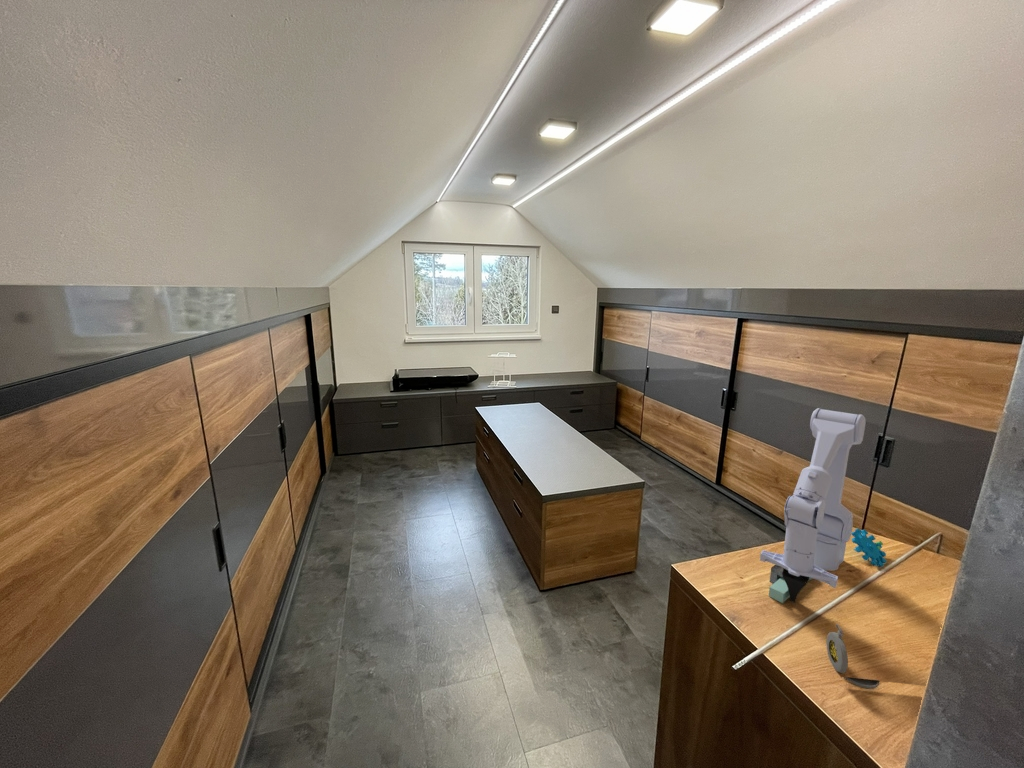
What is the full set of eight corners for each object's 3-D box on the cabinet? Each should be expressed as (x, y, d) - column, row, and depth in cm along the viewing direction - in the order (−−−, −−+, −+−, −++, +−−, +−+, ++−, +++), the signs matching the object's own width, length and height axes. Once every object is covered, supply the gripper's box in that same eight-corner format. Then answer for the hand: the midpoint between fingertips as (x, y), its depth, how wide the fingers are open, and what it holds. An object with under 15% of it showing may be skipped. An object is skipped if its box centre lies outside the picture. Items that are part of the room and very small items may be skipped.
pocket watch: (888, 684, 75) (896, 639, 73) (855, 698, 73) (863, 651, 71) (841, 649, 83) (848, 607, 81) (811, 661, 81) (816, 617, 79)
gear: (873, 568, 105) (849, 529, 110) (851, 573, 109) (829, 535, 115) (898, 563, 109) (873, 526, 114) (876, 568, 113) (854, 532, 119)
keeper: (777, 580, 104) (779, 561, 103) (794, 589, 100) (796, 570, 99) (769, 586, 102) (771, 567, 101) (786, 595, 98) (788, 576, 97)
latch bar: (797, 568, 106) (799, 555, 105) (815, 576, 103) (817, 563, 102) (766, 594, 97) (767, 581, 96) (784, 604, 94) (786, 590, 93)
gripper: (758, 542, 94) (753, 593, 97) (837, 569, 84) (829, 625, 87) (766, 529, 99) (761, 578, 102) (841, 554, 89) (834, 607, 91)
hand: (793, 599), depth 94 cm, fingers closed
